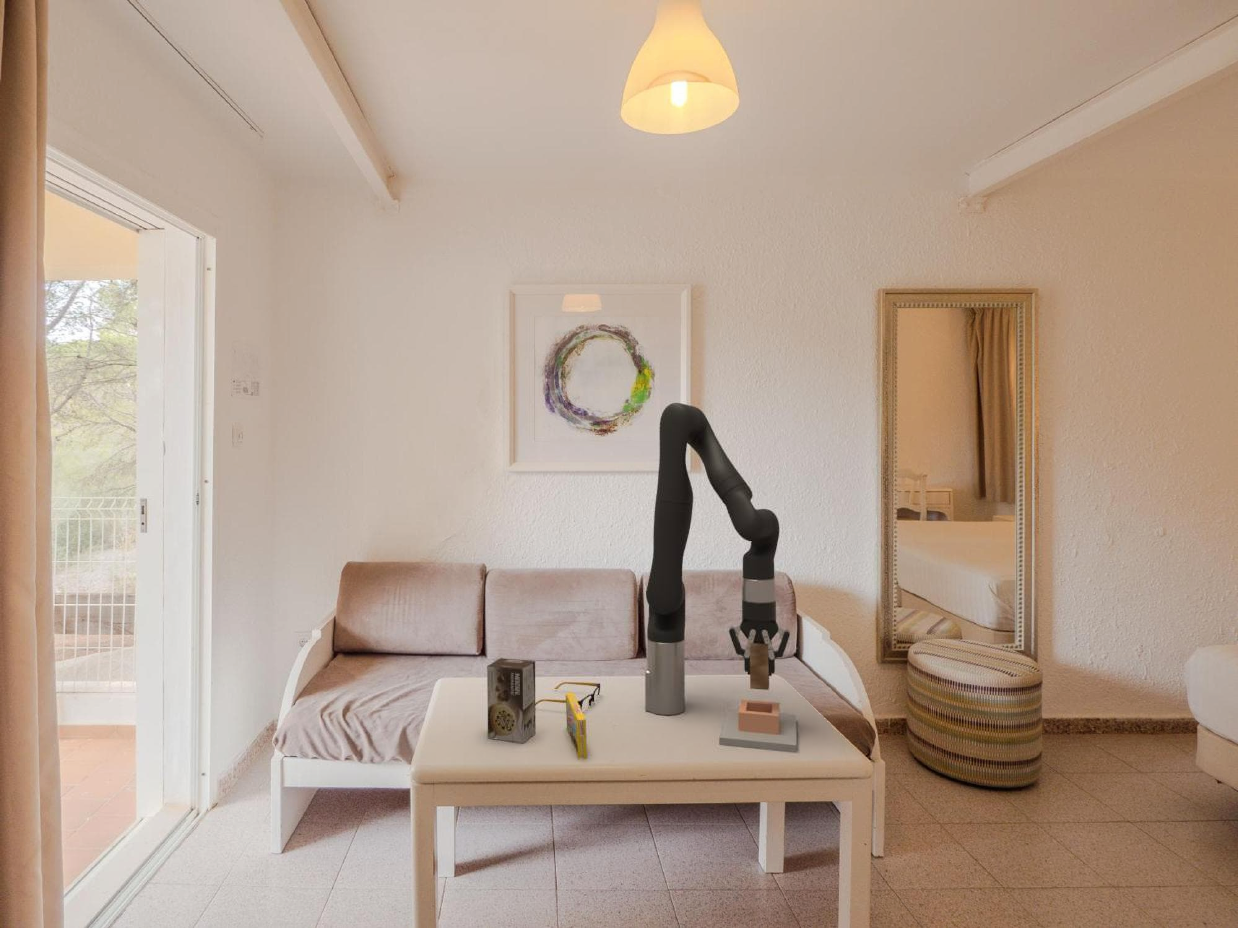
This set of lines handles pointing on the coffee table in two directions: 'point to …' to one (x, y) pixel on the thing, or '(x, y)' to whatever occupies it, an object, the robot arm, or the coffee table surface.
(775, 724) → the socket block
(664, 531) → the robot arm
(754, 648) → the walnut peg
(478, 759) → the coffee table surface
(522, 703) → the coffee box
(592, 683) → the eyeglasses
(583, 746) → the candy box
